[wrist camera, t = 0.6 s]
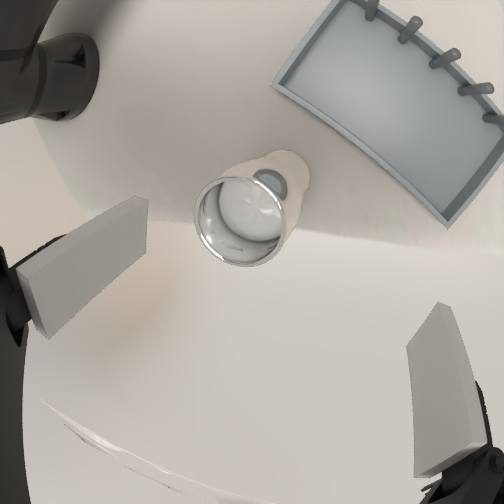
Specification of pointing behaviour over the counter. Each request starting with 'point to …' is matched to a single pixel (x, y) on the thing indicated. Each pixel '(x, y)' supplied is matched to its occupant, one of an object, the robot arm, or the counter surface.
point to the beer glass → (252, 208)
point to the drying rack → (399, 102)
